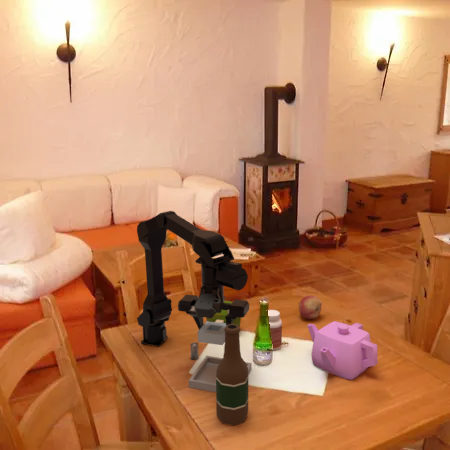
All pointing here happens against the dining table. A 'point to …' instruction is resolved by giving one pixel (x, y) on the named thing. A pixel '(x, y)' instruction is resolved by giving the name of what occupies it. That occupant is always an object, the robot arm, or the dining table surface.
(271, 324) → the pill bottle
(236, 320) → the apple
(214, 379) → the tray
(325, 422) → the dining table surface
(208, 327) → the ring
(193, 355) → the brown rounded cylinder
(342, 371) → the teakettle
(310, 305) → the fruit
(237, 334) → the beer bottle
